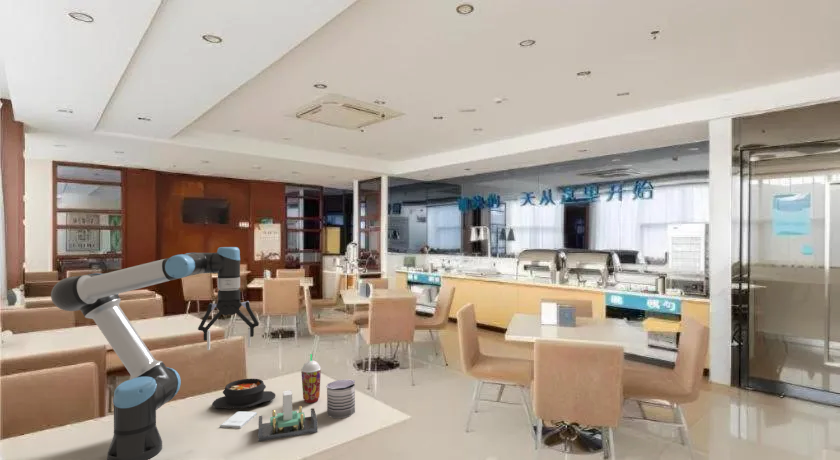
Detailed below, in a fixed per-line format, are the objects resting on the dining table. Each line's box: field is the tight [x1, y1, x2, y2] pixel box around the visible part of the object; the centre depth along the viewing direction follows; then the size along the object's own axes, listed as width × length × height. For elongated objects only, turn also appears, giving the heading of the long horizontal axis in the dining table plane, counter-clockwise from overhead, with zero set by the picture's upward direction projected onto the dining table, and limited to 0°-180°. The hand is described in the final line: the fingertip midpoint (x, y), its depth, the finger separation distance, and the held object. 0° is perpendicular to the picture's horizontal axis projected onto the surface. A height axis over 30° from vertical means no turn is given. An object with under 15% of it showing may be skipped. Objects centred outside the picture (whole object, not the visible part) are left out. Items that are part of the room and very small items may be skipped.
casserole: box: [211, 378, 276, 409], centre depth 184 cm, size 25×19×8 cm
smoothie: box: [300, 353, 322, 404], centre depth 186 cm, size 8×8×20 cm
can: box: [325, 378, 356, 419], centre depth 174 cm, size 11×11×12 cm
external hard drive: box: [219, 410, 257, 429], centre depth 167 cm, size 2×8×12 cm
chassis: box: [258, 405, 318, 442], centre depth 158 cm, size 20×11×6 cm, turn 110°
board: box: [269, 389, 306, 428], centre depth 158 cm, size 12×10×10 cm
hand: (229, 347), depth 157 cm, fingers open, 13 cm apart
